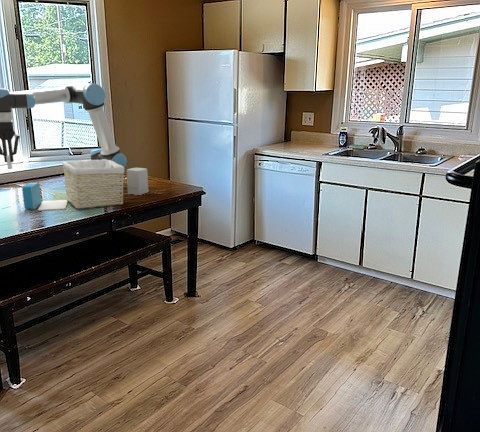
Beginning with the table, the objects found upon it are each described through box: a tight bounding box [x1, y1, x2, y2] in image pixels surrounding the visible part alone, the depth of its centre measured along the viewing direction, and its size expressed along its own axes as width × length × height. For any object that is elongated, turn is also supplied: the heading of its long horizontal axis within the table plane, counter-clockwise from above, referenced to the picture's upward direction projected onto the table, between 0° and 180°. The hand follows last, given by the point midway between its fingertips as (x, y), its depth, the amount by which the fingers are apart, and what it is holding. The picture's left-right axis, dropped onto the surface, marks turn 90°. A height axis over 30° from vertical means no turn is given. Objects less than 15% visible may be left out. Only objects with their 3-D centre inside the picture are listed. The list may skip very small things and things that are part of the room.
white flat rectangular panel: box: [37, 199, 69, 212], centre depth 235 cm, size 13×18×1 cm
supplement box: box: [126, 167, 149, 196], centre depth 262 cm, size 9×9×15 cm
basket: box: [62, 159, 125, 209], centre depth 240 cm, size 27×27×22 cm
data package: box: [21, 182, 42, 210], centre depth 231 cm, size 12×4×12 cm, turn 5°
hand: (10, 168), depth 224 cm, fingers closed
